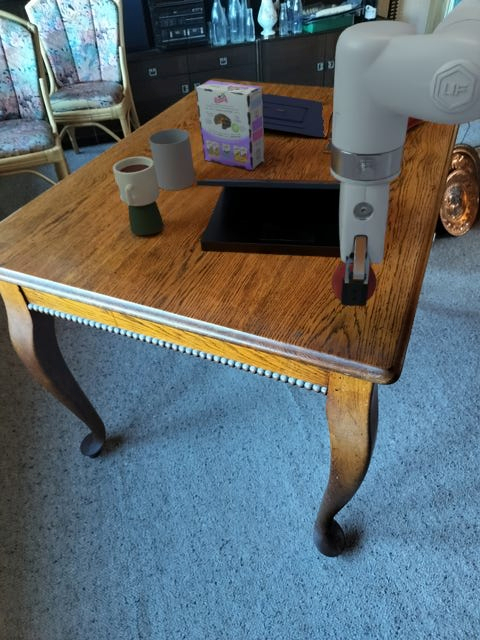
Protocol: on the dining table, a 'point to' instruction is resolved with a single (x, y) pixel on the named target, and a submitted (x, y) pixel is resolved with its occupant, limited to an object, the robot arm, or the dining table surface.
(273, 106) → the dark blue tray
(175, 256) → the dining table surface
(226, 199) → the laptop
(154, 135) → the cup
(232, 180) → the laptop screen
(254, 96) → the candy box
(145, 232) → the character mug
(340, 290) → the onion
